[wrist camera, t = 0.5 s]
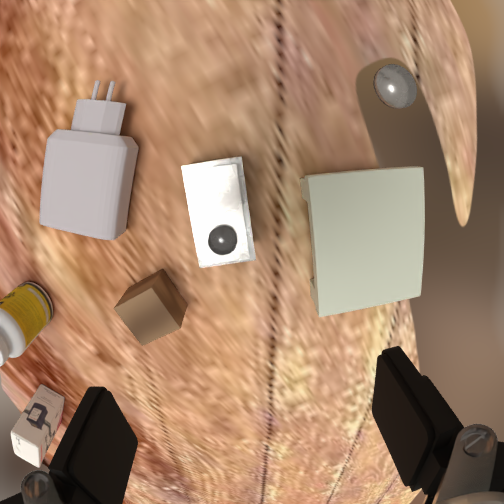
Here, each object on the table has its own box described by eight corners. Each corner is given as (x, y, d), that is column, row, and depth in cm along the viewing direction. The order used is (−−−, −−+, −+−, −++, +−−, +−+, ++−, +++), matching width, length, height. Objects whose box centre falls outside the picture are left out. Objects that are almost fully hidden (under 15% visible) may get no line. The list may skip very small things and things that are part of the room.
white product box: (62, 422, 41) (39, 470, 30) (39, 409, 40) (13, 454, 29) (65, 397, 39) (38, 449, 28) (40, 382, 38) (9, 430, 27)
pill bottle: (38, 272, 32) (-17, 316, 21) (63, 315, 34) (18, 368, 23) (11, 289, 33) (-38, 330, 22) (35, 328, 35) (-7, 377, 24)
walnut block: (128, 287, 33) (113, 308, 29) (162, 268, 33) (151, 287, 28) (152, 321, 35) (142, 345, 30) (187, 304, 34) (180, 328, 30)
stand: (299, 173, 30) (308, 176, 26) (404, 164, 30) (423, 167, 26) (310, 299, 35) (319, 317, 31) (404, 281, 35) (420, 295, 31)
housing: (190, 163, 30) (178, 167, 23) (240, 155, 30) (241, 156, 23) (205, 249, 33) (198, 273, 26) (253, 242, 33) (256, 265, 26)
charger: (154, 88, 27) (128, 229, 32) (78, 83, 26) (58, 214, 30) (141, 79, 23) (112, 242, 27) (57, 75, 22) (35, 224, 26)
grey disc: (368, 66, 27) (372, 64, 26) (407, 66, 27) (411, 65, 26) (378, 109, 29) (382, 108, 28) (416, 108, 28) (420, 107, 28)
